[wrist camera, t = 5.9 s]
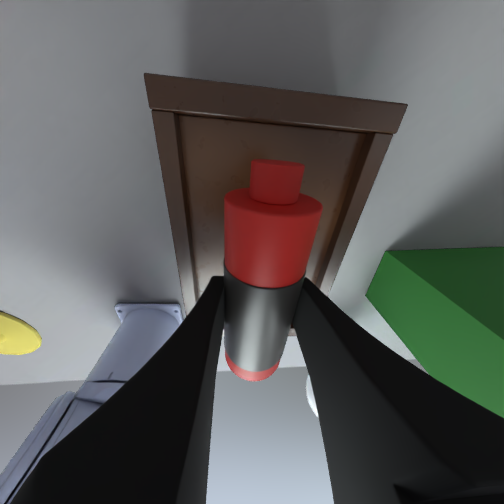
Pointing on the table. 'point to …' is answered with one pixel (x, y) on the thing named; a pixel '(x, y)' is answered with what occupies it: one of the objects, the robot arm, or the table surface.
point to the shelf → (262, 147)
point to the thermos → (265, 264)
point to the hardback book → (448, 315)
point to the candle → (17, 336)
